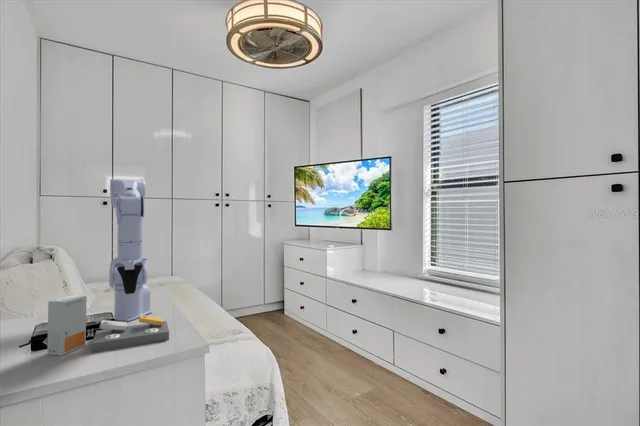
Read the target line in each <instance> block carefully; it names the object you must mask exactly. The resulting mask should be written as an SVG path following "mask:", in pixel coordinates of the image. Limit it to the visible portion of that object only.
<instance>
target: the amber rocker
mask: <svg viewBox="0 0 640 426" xmlns="http://www.w3.org/2000/svg"><path fill="white" fill-rule="evenodd" d="M163 321H164V318H163V317H158V316H153V315H147V314H146V315H140V317H139V318H138V322H139V323H140V324H155V325H161V326H162V325H163Z"/></svg>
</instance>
